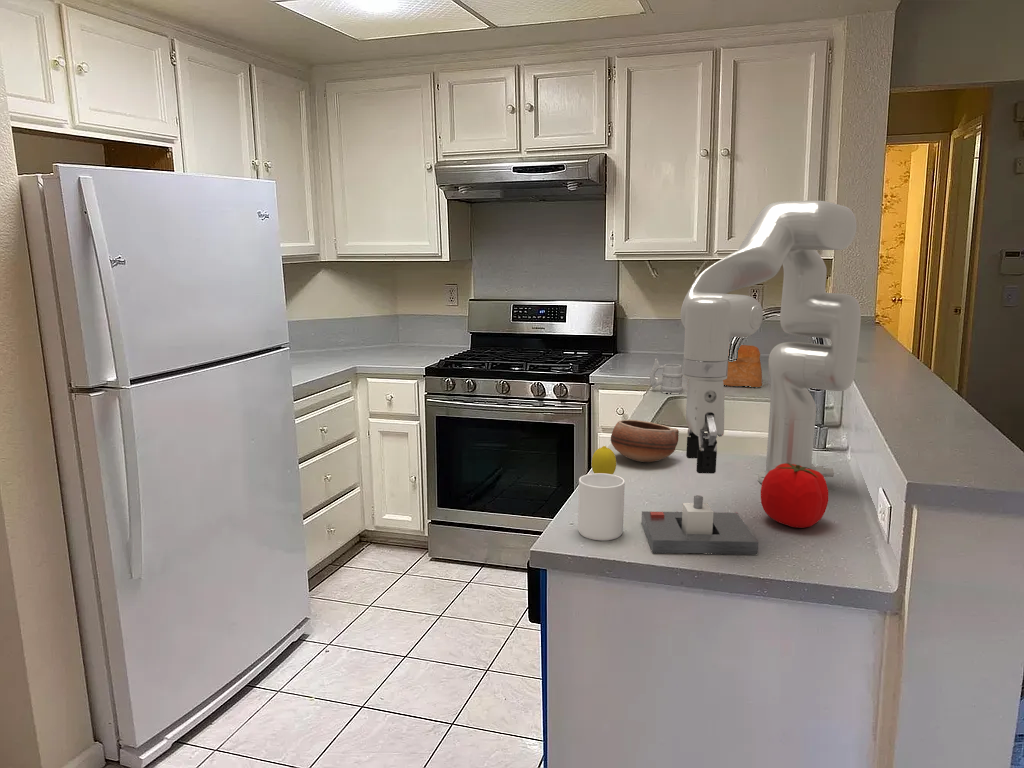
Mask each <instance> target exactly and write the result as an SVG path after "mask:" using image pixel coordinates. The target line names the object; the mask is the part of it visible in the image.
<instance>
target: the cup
mask: <svg viewBox="0 0 1024 768" xmlns="http://www.w3.org/2000/svg"><path fill="white" fill-rule="evenodd" d="M625 484H626V483H625V479H624V478H623V477H621V476H619V475H615V474H613V475H612V474H604V473H594V472H593V473H588V474H584V475H582V476H580V477H578V506H577V507H578V510H577V513H578V515H577V517H578V518H577V529H578V532H579V534H580V535H581V536H582V537H583V538H586V539H588V540H589V539H590V540H595V541H612V540H616V539H618V538H620V537H621V535H622V534H623V533H624V512H625V510H624V509H625V486H626V485H625Z"/></svg>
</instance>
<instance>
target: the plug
mask: <svg viewBox="0 0 1024 768" xmlns="http://www.w3.org/2000/svg"><path fill="white" fill-rule="evenodd" d="M681 510H682V511H681V512H682V529H681V531H682V533H683V534H712V529H713V513H714V511H713V509H712V508H711V506H710V505H709V504H708V503H706V502H704V496H702V495H697V494H695V495H694V496H693V502H682V509H681Z"/></svg>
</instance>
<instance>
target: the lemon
mask: <svg viewBox="0 0 1024 768" xmlns="http://www.w3.org/2000/svg"><path fill="white" fill-rule="evenodd" d="M616 458H617V457H616V455H615V452H614V451H613V450H612V449H611V448H609V447H607V446H606V445H603V446H601V447H599V448H597V449H596V450H595V451H594V453H593V455H592V457H591V465H590V466H591V469H592V470H591V471H592V472H593V474H594V473H604V474H612V475H614V473H615V472H616V469H617V459H616Z"/></svg>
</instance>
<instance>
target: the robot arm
mask: <svg viewBox="0 0 1024 768" xmlns="http://www.w3.org/2000/svg"><path fill="white" fill-rule="evenodd" d="M751 225H752V226H750V229H749V230H748V233H747V234H746V236H745V238H744V239H743V241H741V242H742V243H741V244H740V246H739V248H738V249H737V250H736V251H733V252H732V253H730V254H728V255H726V256H724V257H723V258H721V259H719V260H718V261H716V262H714V263H713V264H711V265H710V266H708V267H707V268H705V269H704V270H703V271H702V272H700V274H698V276H697V277H696V278H695V279H694V281H693V283H691V284H692V285H691V286H690V288H689V289H688V291H687V292H686V294H685V297H684V299H683V302H682V305H681V308H680V321H681V324H682V327H684V345H683V347H684V348H683V365H682V373H683V376H682V377H683V378H685V379H687V389H686V404H685V405H686V406H685V422H686V425H687V426H688V427H687V436H686V454H685V455H686V458H687V459H696V467H695V468H696V469H695V470H696V473H697V474H709V475H710V474H712V475H713V474H716V472H717V455H718V441H717V438H718V437H723V436H724V434H725V386H724V384H723V380H725V379H727V373H728V356H729V344H730V338H733V337H734V338H746V337H749V336H752V335H754V334H755V333H756V332H757V331H758V330H759V329H760V327H761V324H762V323H763V318H764V311H763V307H762V305H761V303H760V302H759V301H758V300H757V299H756V298H755V297H753V296H750V295H747V294H737V293H736V294H733V293H730V292H733V291H736V290H740V289H743V288H747V287H751V286H752V287H753V286H755V285H758V284H761V283H764V282H766V281H768V280H771V279H772V278H774V277H775V276H776V275H777V274H778V273H779V272H780V269H781V267H782V268H783V279H782V280H783V282H782V291H781V292H782V293H781V305H780V314H779V315H780V319H779V321H780V326H781V327H780V328H781V329H782V330H783V332H784V333H786V334H788V335H791V336H798V337H806V338H807V337H808V338H809V337H810V338H817V339H828V340H829V341H830V343H831V344H820V343H810V342H801V341H787V342H781V343H778V344H776V345H775V346H774V347H773V348H772V349H771V350H770V353H769V356H768V375H769V381H770V382H769V383H770V384H769V385H770V386H769V387H770V401H769V416H768V418H769V419H768V432H767V446H766V447H767V449H766V461H765V470H763V471H760V472H759V473H758V475H757V480H758V482H759V483H760V484H762V482H763V480H764V478H765V476H766V475H767V473H768V472H769V471H770V470H773V469H775V468H776V467H777V466H778V465H780V464H784V463H786V462H787V463H786V464H788V463H789V464H795V465H800V466H802V467H807V468H805V469H808V468H810V469H812V470H815V471H818V472H820V473H821V474H822V475H823V476H824V478H833V477H834V475H835V470H834V469H833V468H831V467H829V468H824V466H823V465H822V466H821V465H820V466H819V465H818V466H817V465H815V464H814V463H813V451H814V443H815V442H814V438H815V429H816V428H815V427H816V417H817V415H816V414H817V405H816V402H815V400H814V397H813V396H812V394H811V392H810V391H809V390H808V389H816V390H824V391H829V392H832V391H833V392H843V391H846V390H848V389H849V388H850V387H851V386H852V384H853V382H854V380H855V374H856V370H857V369H856V368H857V359H858V350H859V341H860V334H861V333H860V332H861V321H862V320H861V319H862V316H861V315H862V312H861V307H860V302H859V301H858V300H857V298H856V297H854V296H853V295H850V294H848V293H840V292H839V293H837V292H836V293H835V292H834V293H833V292H827V290H826V284H827V283H826V282H827V281H826V280H827V273H828V272H827V271H828V270H827V266H826V263H825V261H824V259H823V257H822V256H821V255H820V253H819V252H818V251H842V250H844V249H847V248H848V247H850V246H851V244H852V243H853V241H854V239H855V237H856V234H857V228H858V227H857V226H858V225H857V219H856V216H855V214H854V212H853V211H852V209H850V207H848V206H846V205H842V204H837V203H834V202H830V201H825V200H790V201H789V200H788V201H787V200H786V201H783V200H781V201H776V202H772V203H769V204H767V205H766V206H764V207H763V208H762V209H761V211H760V212H759V214H758V215H757V217H756V218H755V219H754V221H753V224H751ZM729 293H730V294H729ZM773 466H775V467H773Z"/></svg>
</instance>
